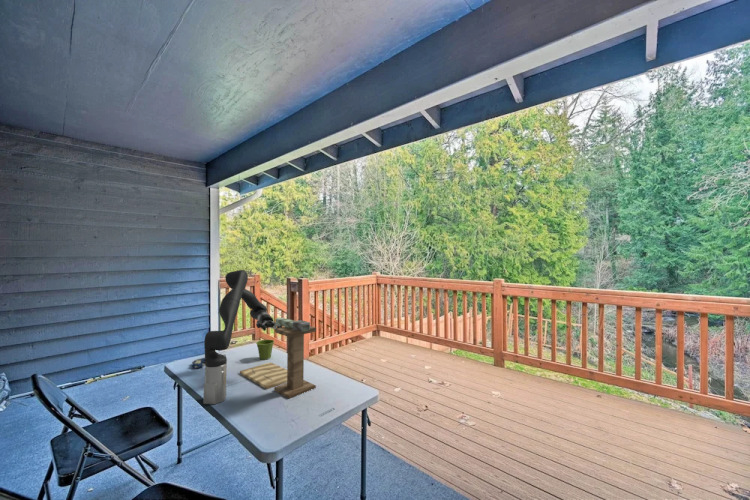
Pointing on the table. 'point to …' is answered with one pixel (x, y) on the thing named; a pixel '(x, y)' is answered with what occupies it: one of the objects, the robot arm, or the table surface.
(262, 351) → the plant pot
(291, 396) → the shelf stand
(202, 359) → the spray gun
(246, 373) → the pine board
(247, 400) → the table surface
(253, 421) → the table surface
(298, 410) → the table surface
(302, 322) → the sanding stick
